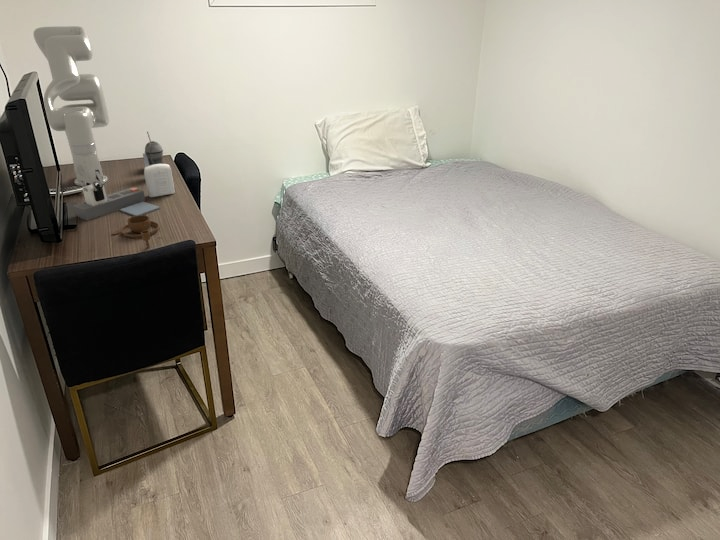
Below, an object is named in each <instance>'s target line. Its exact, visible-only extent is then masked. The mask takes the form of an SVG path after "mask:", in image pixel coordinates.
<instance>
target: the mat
mask: <svg viewBox="0 0 720 540" xmlns="http://www.w3.org/2000/svg"><path fill="white" fill-rule="evenodd" d="M157 209H158V210H161V206H158V205H156V204H155V205H154V204H152V203H148V202H145V201H143V202H140V203H137V204H134V205H131V206H128V207H125V208H122V209H120V210H119V212H122V213H125V214H126V215H129V216H132V217H134V216H139V215H143V214H144V215H146V213H147V214H149V213H151V212H152V213H153V212H155V211H158V210H157ZM154 210H155V211H154Z"/></svg>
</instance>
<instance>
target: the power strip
mask: <svg viewBox="0 0 720 540" xmlns="http://www.w3.org/2000/svg"><path fill="white" fill-rule="evenodd" d="M106 196H107V201H108V202H105V203H101V204H98V205H95V206H91V205H88V204H86V201H84V202H80V203H77V204H73V205H72V206H73V212H74V215H75V214H76V215H77V216H78V217H77V216H76V215H75V216H76V217H77V218H79V217H80V218H79V219H82V220H84V219H85V221H90V220H94V219H96V218H98V217H102V216H105V215H107V214H110V213H114V212H116V211H120V209H123V208H126V207H129V206H131V205H134V204H137V203H140V202H142V201H143V202H145V201H146V196H145V192H144V190H142V189H139V188H138V187H133V186H132V187H129V188H125V189H122V190H119V191H116V192H113V193H110V194H106Z"/></svg>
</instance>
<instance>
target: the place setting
mask: <svg viewBox="0 0 720 540" xmlns="http://www.w3.org/2000/svg"><path fill="white" fill-rule="evenodd" d="M126 222H127V224H126V225H124V226H122V227H121V226H120V228H119V229H117V230H115V231H113V232H112V235H114V236H115V235H118V234H119V233H120V231H121V234H122V235H123V236H124V237H126V238H130V239H139V238H142V240H143V241H145V246H146V249H151V246H150V242H149V240H150V239H151V236H152V235H155V234H156V233H157V232H159V228H160V224H159V223H158V222H156V221H152V220H151V219H150V217H149V216H148V215H146V214H144V215H139V216H131V217H129V218H128V219H127V221H126ZM151 225H152V227H154V226H155V227H154V228H155V229H153V230H151V231H149V230H148V229H150V228H151ZM128 230H130V231H131V232H134V233H136V234H129V233H125V232H127V231H128ZM157 238H158V239H160V238H161V237H160V236H159V237H157Z"/></svg>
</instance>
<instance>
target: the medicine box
mask: <svg viewBox="0 0 720 540" xmlns="http://www.w3.org/2000/svg"><path fill="white" fill-rule="evenodd" d="M142 156H143V162H144V168H146V167H148V166H149V162H148V158H147V156H146V153H145V151H144V152H143V153H142Z"/></svg>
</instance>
